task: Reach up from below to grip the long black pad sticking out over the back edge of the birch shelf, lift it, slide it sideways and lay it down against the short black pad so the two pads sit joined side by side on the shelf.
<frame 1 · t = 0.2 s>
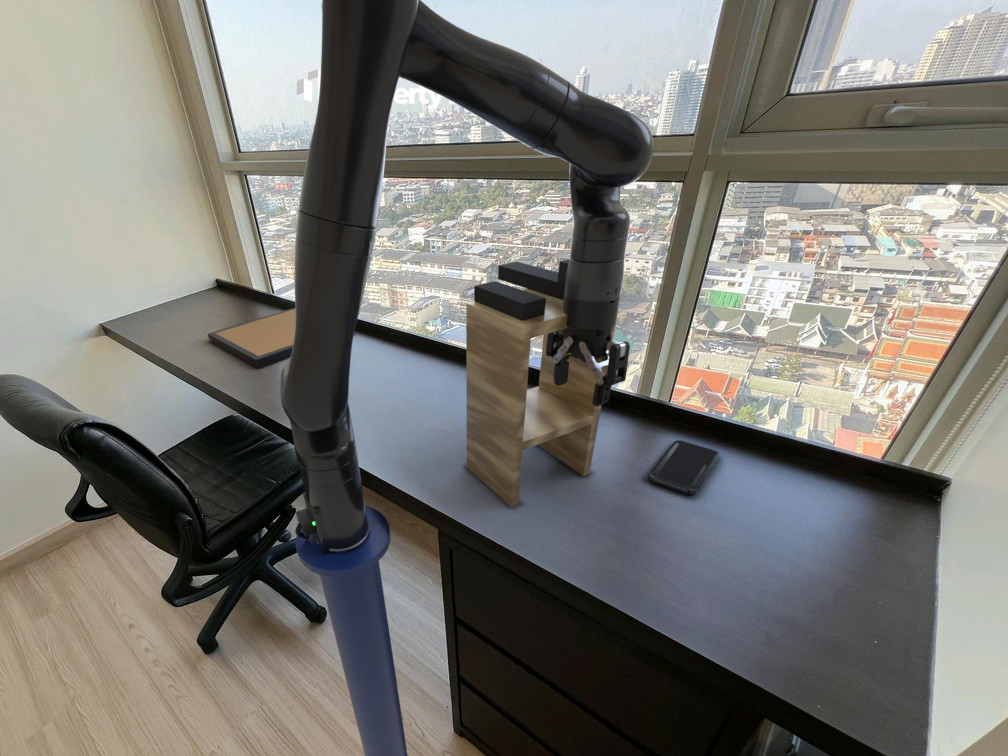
hand: (579, 393, 76), 19 cm above the table, tool pointing down, fingers open, 8 cm apart
handheld radio: (568, 405, 111), on the table
phone: (683, 469, 88), on the table
pad a: (507, 307, 72), point 32 cm above the table, touching shelf
cork board: (281, 338, 162), on the table
pad b: (544, 288, 79), point 32 cm above the table, touching arm, shelf
shelf: (526, 470, 91), on the table
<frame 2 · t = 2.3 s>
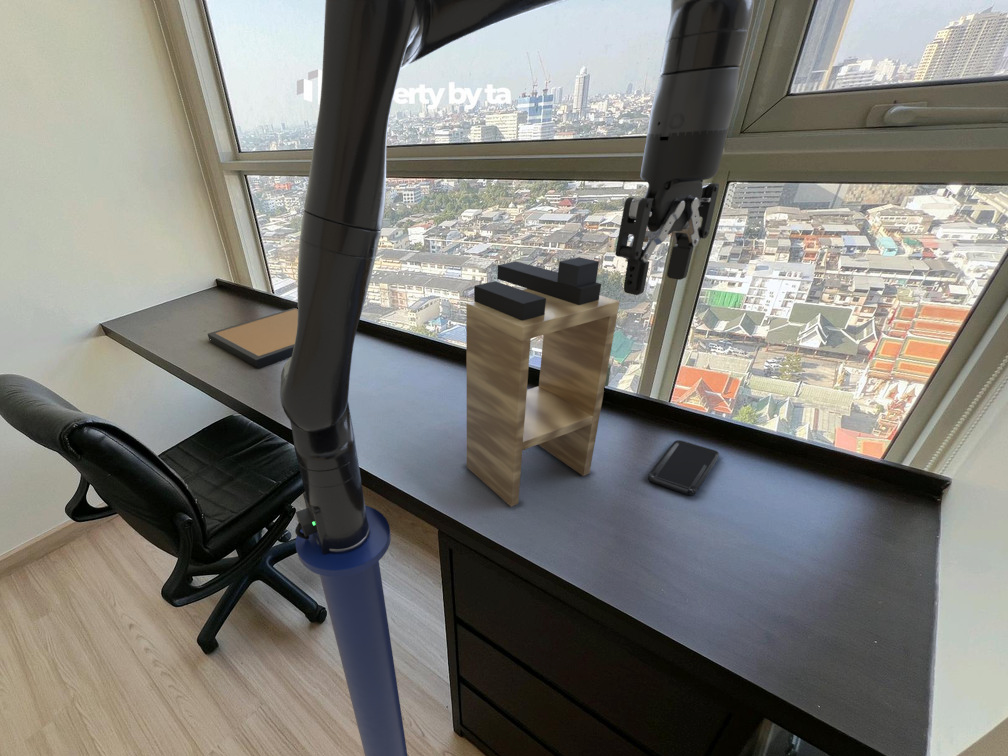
hand: (655, 285, 59), 37 cm above the table, tool pointing down, fingers open, 8 cm apart
pad b: (543, 288, 79), point 32 cm above the table, touching shelf
everything else where it was.
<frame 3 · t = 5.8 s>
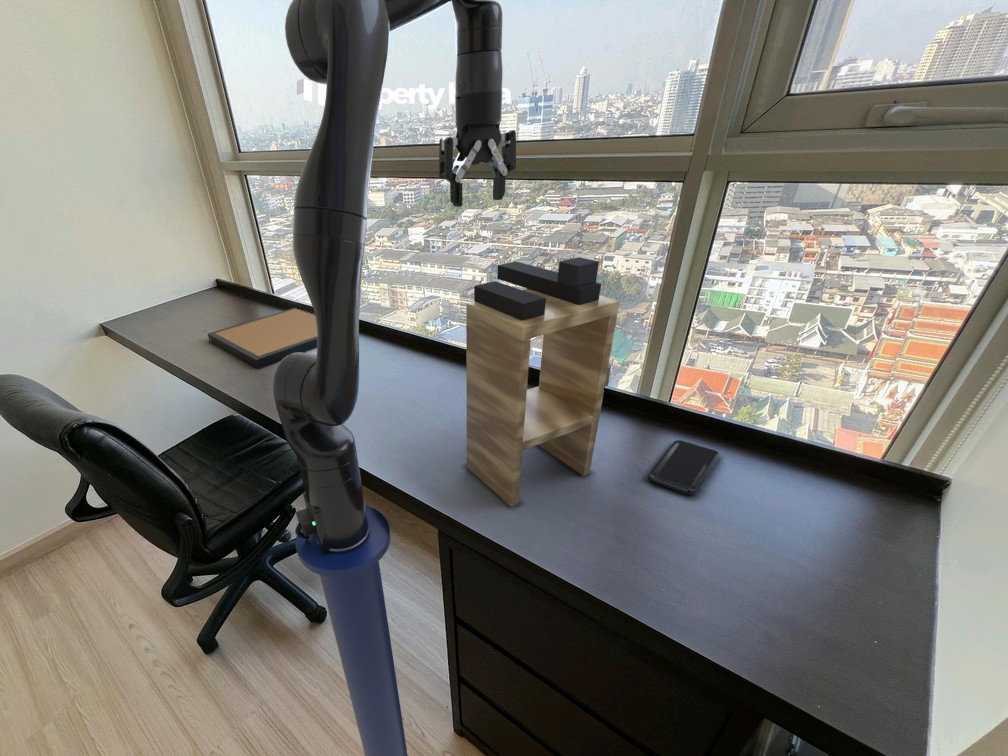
hand: (477, 203, 86), 44 cm above the table, tool pointing down, fingers open, 8 cm apart
nothing on the table moved.
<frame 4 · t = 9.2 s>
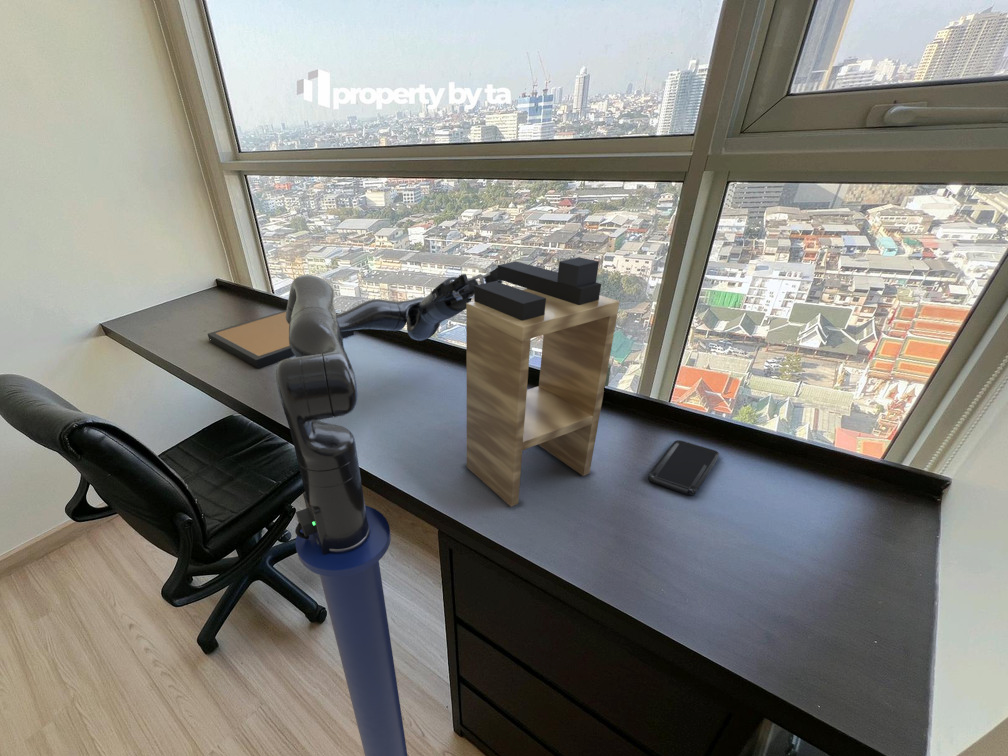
hand: (484, 275, 93), 31 cm above the table, tool pointing upward, fingers open, 8 cm apart
nothing on the table moved.
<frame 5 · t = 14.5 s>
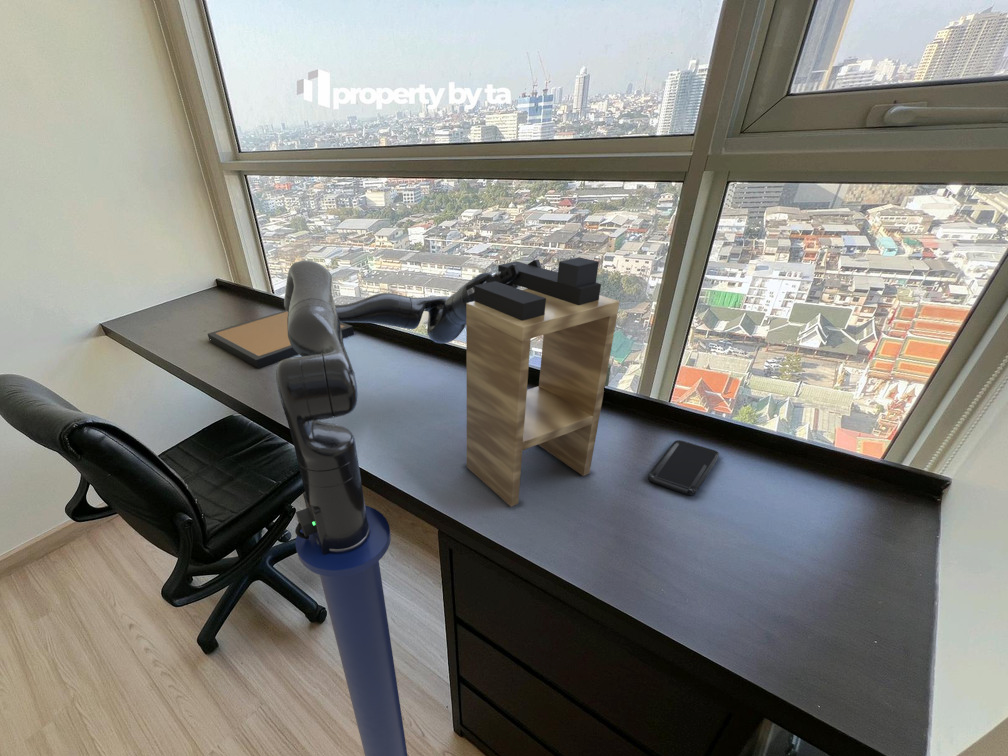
hand: (527, 267, 81), 35 cm above the table, tool pointing upward, fingers closed on pad b, 4 cm apart
pad b: (543, 288, 79), point 32 cm above the table, touching gripper, shelf
everything else where it was.
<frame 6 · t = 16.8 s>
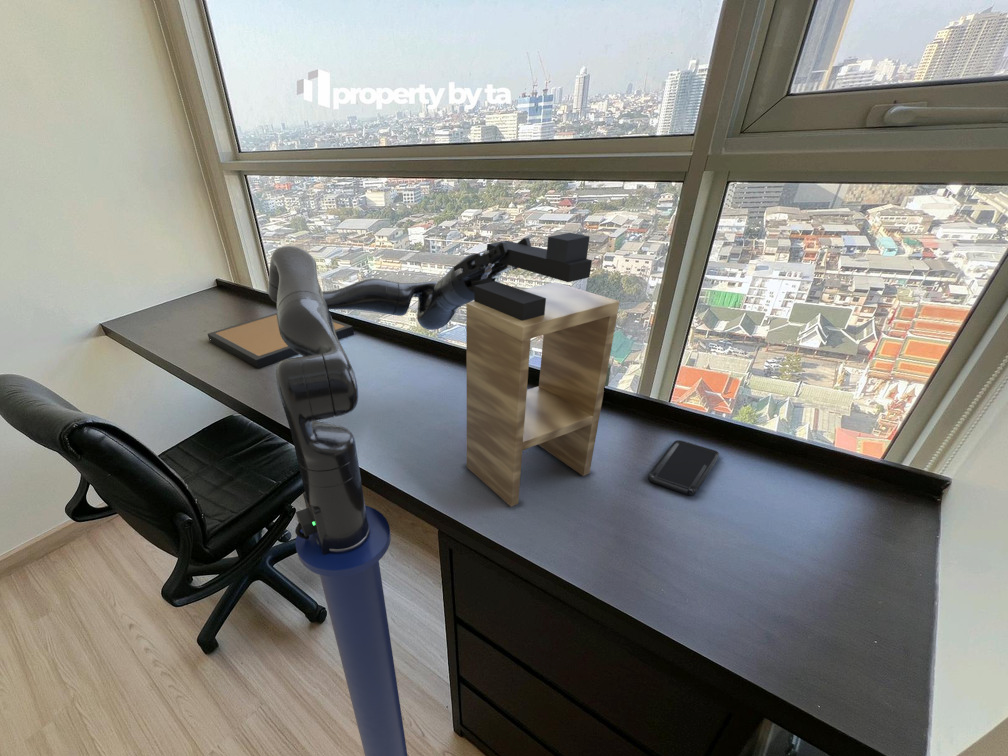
hand: (516, 246, 78), 38 cm above the table, tool pointing upward, fingers closed on pad b, 4 cm apart
pad b: (533, 267, 76), point 36 cm above the table, touching gripper
everything else where it was.
when the fingers open (35 cm above the table, at t = 19.4 s): pad b stays where it is, resting on shelf.
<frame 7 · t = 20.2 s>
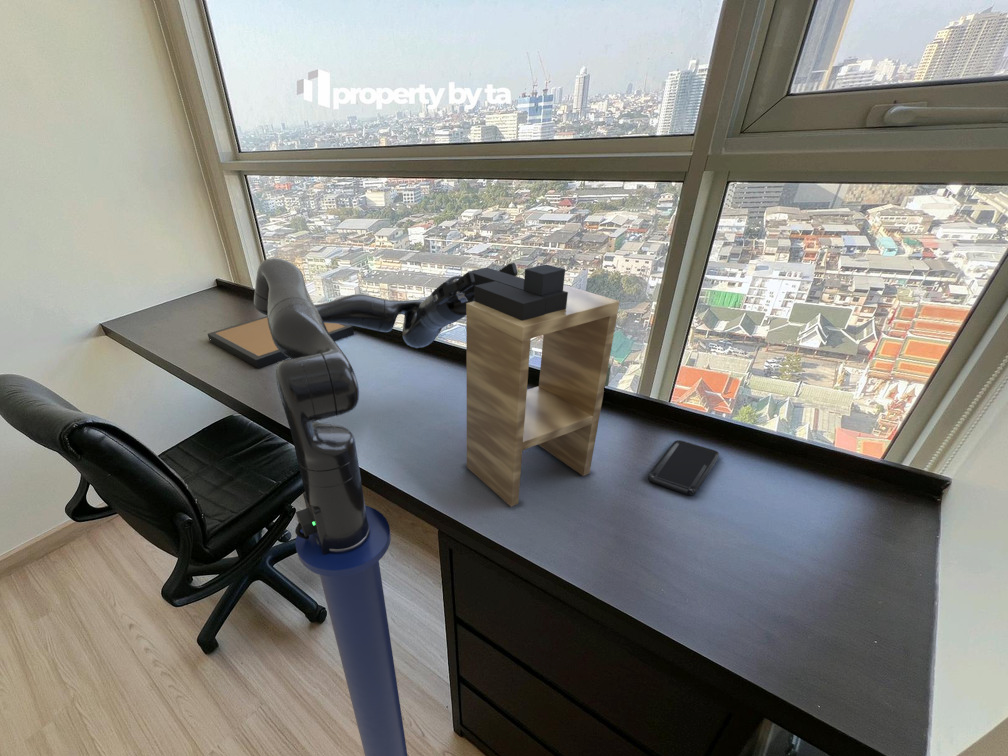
hand: (493, 273, 79), 35 cm above the table, tool pointing upward, fingers open, 8 cm apart
pad b: (512, 296, 77), point 32 cm above the table, touching shelf
everything else where it was.
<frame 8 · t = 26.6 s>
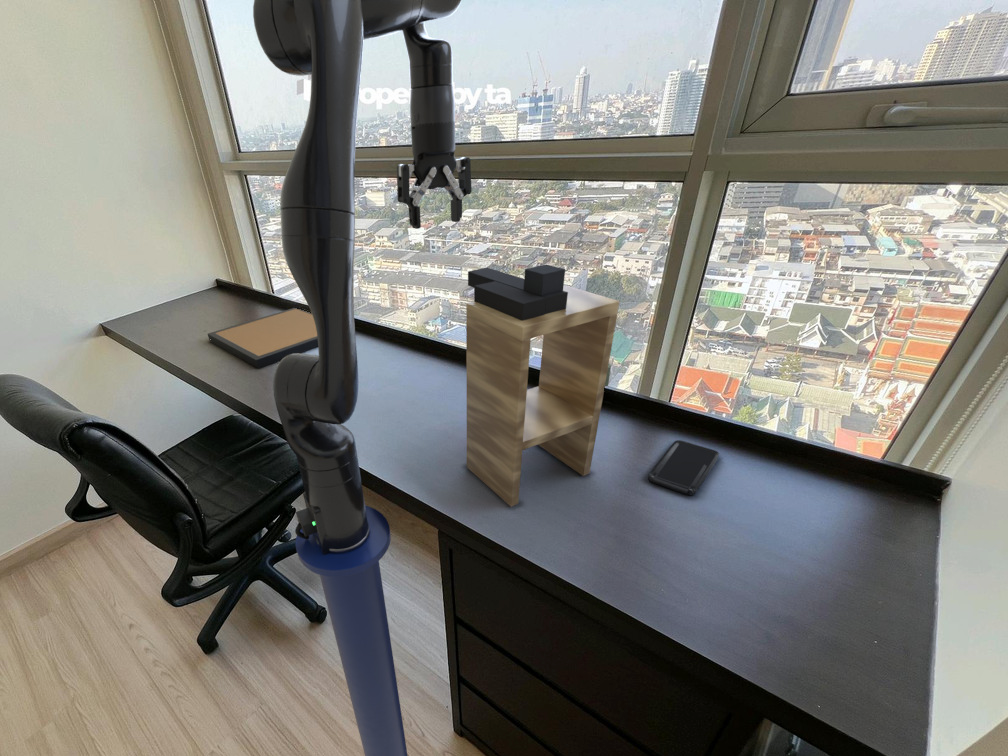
hand: (436, 224, 90), 40 cm above the table, tool pointing down, fingers open, 8 cm apart
nothing on the table moved.
at the end: pad b 0.5 cm from the target spot on the table beside the pad a, resting on shelf; pad b point 32.0 cm above the table; the gripper is holding nothing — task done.
